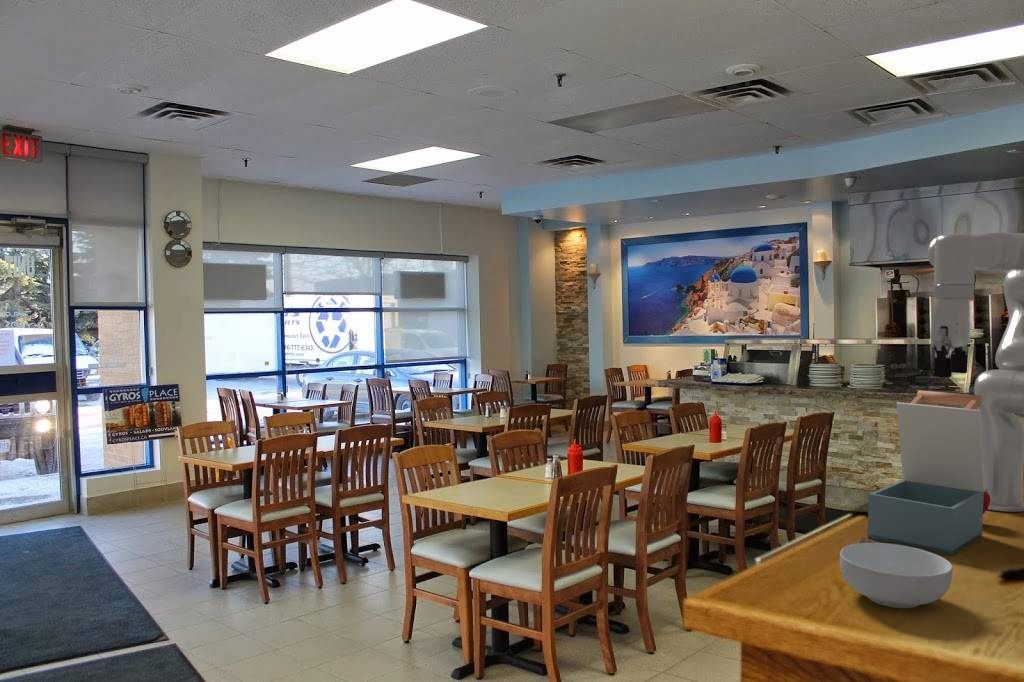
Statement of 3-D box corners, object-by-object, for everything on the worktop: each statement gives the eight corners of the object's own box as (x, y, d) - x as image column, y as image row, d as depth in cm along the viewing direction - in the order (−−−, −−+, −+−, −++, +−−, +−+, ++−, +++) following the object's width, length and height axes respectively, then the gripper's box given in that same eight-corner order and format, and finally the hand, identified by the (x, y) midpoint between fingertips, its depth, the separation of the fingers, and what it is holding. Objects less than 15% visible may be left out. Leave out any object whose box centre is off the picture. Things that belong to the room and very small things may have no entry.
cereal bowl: (896, 626, 129) (898, 580, 129) (816, 590, 145) (817, 549, 144) (975, 609, 136) (977, 566, 136) (891, 576, 151) (892, 537, 151)
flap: (902, 479, 186) (916, 463, 192) (983, 492, 175) (996, 474, 181) (896, 402, 182) (910, 387, 187) (978, 410, 170) (991, 394, 176)
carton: (901, 520, 187) (902, 479, 186) (981, 535, 176) (983, 492, 175) (867, 537, 174) (868, 494, 174) (951, 555, 163) (953, 508, 162)
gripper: (948, 292, 189) (946, 370, 190) (919, 294, 176) (917, 377, 178) (986, 292, 183) (983, 372, 185) (958, 294, 171) (956, 380, 172)
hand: (950, 374), depth 181 cm, fingers open, 9 cm apart
